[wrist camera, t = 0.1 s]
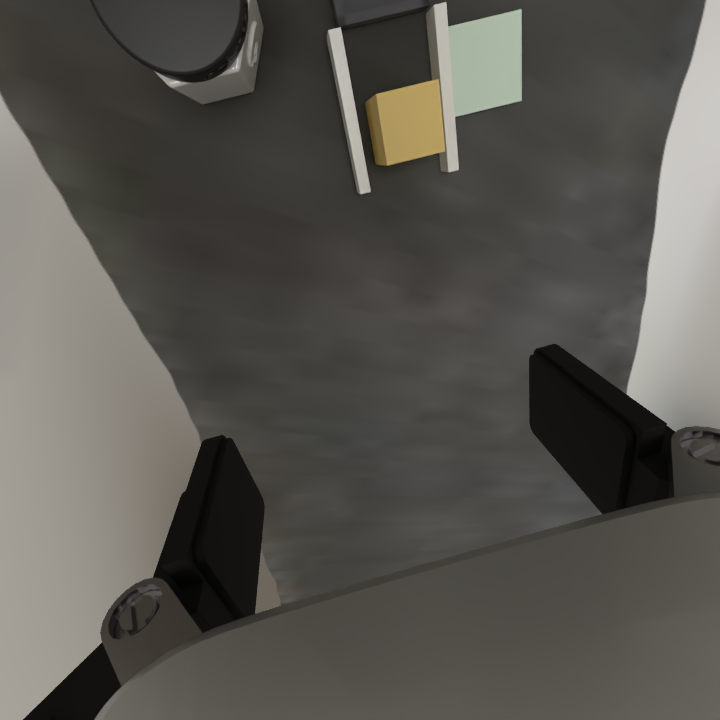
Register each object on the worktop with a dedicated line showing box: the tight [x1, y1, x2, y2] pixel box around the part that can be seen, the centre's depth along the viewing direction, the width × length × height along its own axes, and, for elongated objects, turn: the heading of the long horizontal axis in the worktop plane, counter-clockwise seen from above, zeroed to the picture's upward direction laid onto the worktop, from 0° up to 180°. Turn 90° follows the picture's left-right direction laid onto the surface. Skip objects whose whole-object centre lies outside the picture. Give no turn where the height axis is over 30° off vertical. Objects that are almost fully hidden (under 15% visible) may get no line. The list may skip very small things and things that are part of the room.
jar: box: [90, 0, 264, 104], centre depth 25 cm, size 9×8×12 cm
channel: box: [326, 2, 459, 194], centre depth 34 cm, size 12×10×2 cm
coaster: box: [448, 9, 522, 117], centre depth 34 cm, size 6×6×1 cm
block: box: [365, 79, 445, 166], centre depth 33 cm, size 5×5×6 cm
